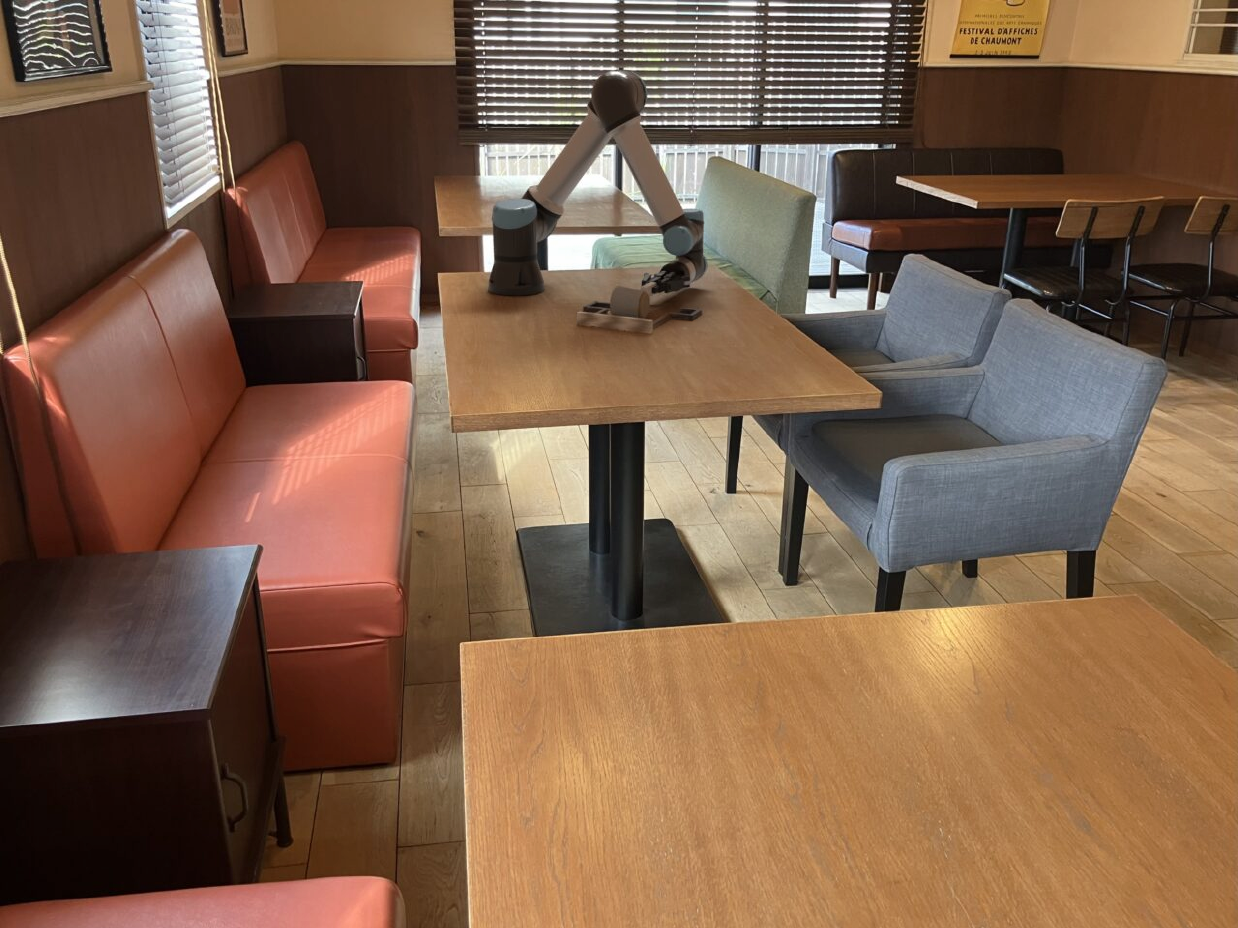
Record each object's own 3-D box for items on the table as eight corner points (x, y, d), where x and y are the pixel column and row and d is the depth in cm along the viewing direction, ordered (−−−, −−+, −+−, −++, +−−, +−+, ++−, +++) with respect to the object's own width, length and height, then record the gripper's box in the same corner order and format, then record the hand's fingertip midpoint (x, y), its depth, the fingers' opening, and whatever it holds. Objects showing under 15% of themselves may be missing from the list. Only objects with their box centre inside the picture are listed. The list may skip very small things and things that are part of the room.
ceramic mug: (640, 323, 247) (641, 292, 244) (609, 320, 249) (609, 289, 247) (655, 314, 256) (656, 284, 253) (624, 311, 259) (624, 281, 256)
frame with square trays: (560, 323, 247) (559, 310, 246) (599, 303, 267) (599, 291, 265) (668, 335, 237) (669, 323, 236) (701, 314, 256) (702, 302, 255)
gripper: (699, 291, 271) (668, 310, 251) (653, 286, 276) (619, 305, 256) (700, 262, 268) (668, 280, 248) (654, 258, 273) (619, 275, 253)
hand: (643, 292), depth 252 cm, fingers closed
